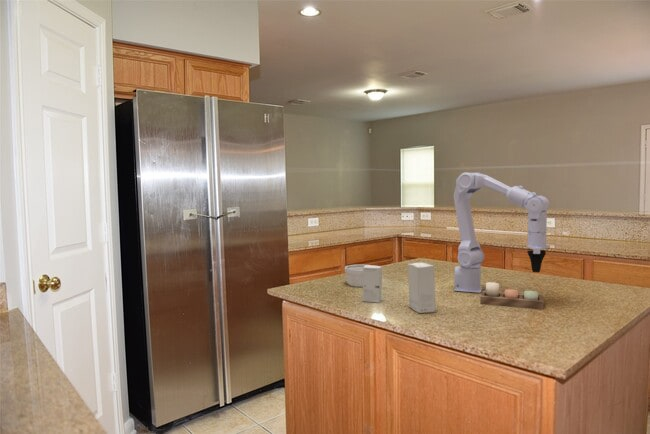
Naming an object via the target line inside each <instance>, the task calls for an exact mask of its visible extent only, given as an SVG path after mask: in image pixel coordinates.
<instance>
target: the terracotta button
mask: <svg viewBox="0 0 650 434" xmlns="http://www.w3.org/2000/svg"><path fill="white" fill-rule="evenodd" d="M504 292H505V297H507V298H518V293H519V290H518V289H514V288H513V289H512V288H507V289H504Z"/></svg>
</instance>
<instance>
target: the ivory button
mask: <svg viewBox="0 0 650 434" xmlns="http://www.w3.org/2000/svg"><path fill="white" fill-rule="evenodd" d="M485 291H486V295H487V296H495V297H497V296H499V292H500V283H498V282H495V281H494V282H493V281H491V282H490V281H489V282H485Z"/></svg>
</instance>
